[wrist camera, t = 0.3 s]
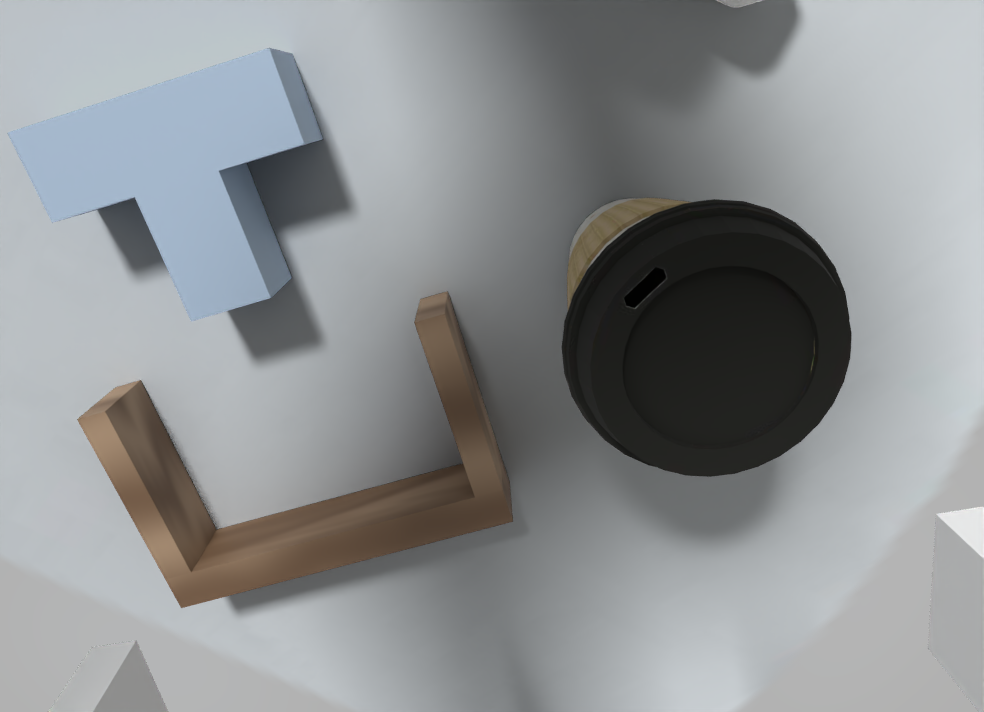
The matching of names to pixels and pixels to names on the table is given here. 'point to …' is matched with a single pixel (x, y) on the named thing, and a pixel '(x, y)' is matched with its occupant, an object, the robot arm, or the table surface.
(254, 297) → the t block
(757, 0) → the white slotted block
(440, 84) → the table surface
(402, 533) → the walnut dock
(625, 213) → the coffee cup
